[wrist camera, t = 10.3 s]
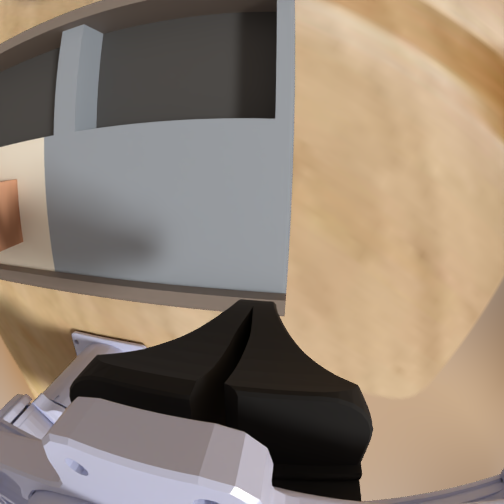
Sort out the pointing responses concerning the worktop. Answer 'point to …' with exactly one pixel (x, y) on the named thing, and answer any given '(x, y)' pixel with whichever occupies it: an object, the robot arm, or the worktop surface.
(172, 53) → the box
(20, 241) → the block
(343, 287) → the worktop surface
